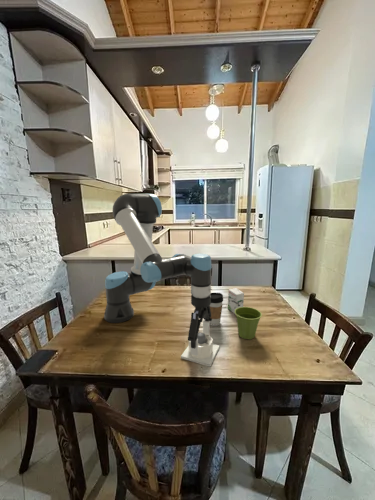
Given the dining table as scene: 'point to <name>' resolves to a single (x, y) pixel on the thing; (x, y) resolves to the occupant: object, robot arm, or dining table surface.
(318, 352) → the dining table surface
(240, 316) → the plant pot
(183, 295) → the dining table surface
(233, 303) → the ink box
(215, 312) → the coffee cup
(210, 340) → the collar
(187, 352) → the white square plate
